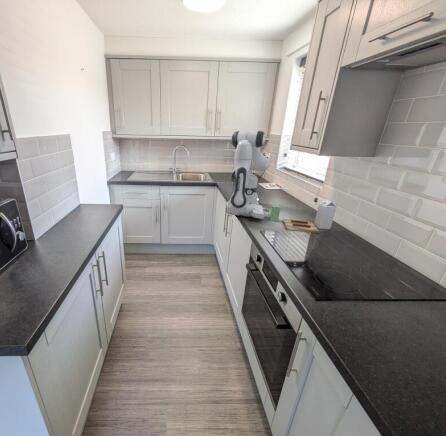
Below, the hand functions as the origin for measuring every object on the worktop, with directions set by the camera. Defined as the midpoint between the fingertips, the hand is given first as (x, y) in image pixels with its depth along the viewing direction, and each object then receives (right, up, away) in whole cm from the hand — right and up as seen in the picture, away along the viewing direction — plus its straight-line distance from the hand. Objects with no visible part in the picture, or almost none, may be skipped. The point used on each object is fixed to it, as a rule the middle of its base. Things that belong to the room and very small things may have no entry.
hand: (270, 212), depth 158 cm
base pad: (+15, -9, -10) cm, 20 cm away
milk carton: (+30, -10, -9) cm, 33 cm away
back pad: (+3, -5, +1) cm, 6 cm away
